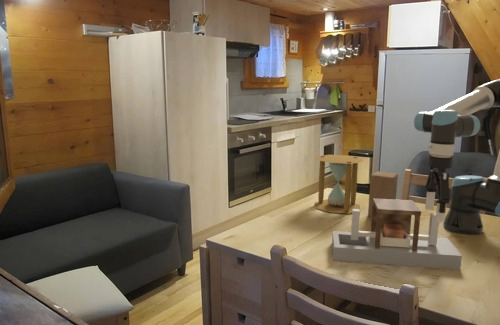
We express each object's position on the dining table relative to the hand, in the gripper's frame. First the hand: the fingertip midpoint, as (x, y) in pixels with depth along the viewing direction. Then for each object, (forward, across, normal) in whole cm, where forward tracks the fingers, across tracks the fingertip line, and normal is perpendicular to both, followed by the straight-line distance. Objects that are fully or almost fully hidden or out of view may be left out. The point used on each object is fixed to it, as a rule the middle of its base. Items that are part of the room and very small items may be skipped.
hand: (434, 215), depth 146 cm
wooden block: (+16, -46, -10) cm, 50 cm away
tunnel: (+11, 0, -13) cm, 17 cm away
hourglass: (+16, -56, -30) cm, 66 cm away
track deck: (+16, 0, -13) cm, 21 cm away
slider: (+11, 0, -13) cm, 17 cm away
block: (+11, 0, -13) cm, 17 cm away
